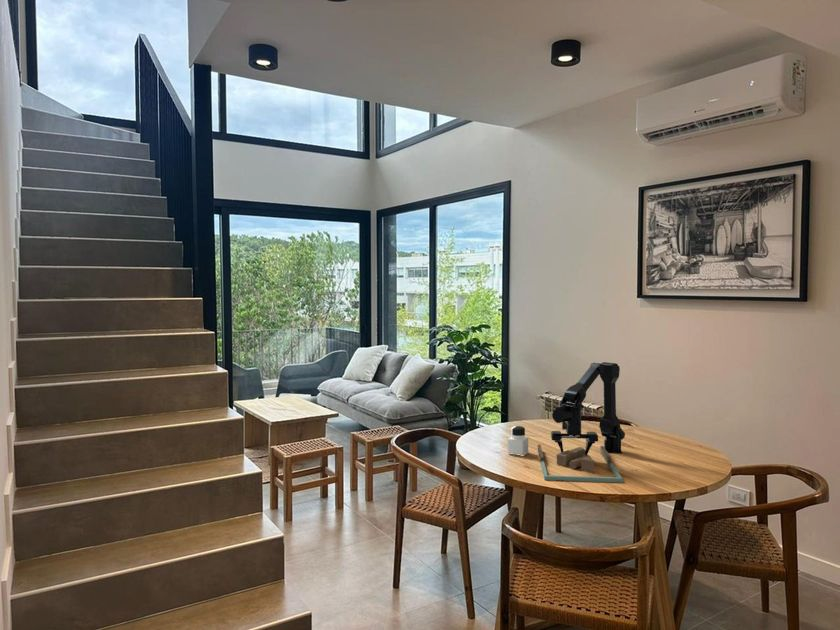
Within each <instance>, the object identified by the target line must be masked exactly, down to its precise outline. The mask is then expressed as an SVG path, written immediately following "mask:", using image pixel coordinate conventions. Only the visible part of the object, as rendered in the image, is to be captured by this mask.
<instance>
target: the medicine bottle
mask: <svg viewBox="0 0 840 630" xmlns="http://www.w3.org/2000/svg"><path fill="white" fill-rule="evenodd" d="M527 452H528V453H529V436H526V428H525V427H524V426H520V425H515V426H512V427H511V428H510V437H509V438H507V454H508V453H513V454H520V455H524V454H525V453H527ZM528 453H527V454H528ZM524 456H525V455H524Z"/></svg>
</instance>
